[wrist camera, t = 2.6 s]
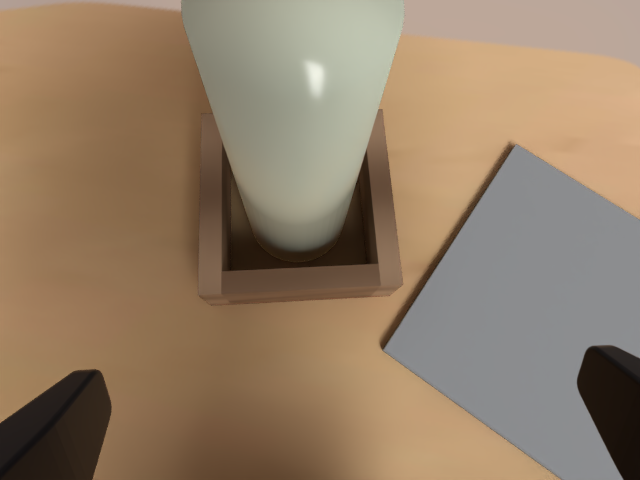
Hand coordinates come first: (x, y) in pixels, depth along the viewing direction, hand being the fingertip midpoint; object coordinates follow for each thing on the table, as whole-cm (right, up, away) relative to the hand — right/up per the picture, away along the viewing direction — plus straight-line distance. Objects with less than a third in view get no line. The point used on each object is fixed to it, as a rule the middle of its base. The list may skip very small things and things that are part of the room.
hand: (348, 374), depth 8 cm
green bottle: (-2, +4, +15) cm, 16 cm away
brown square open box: (-2, +4, +15) cm, 16 cm away
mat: (+12, -1, +14) cm, 19 cm away
